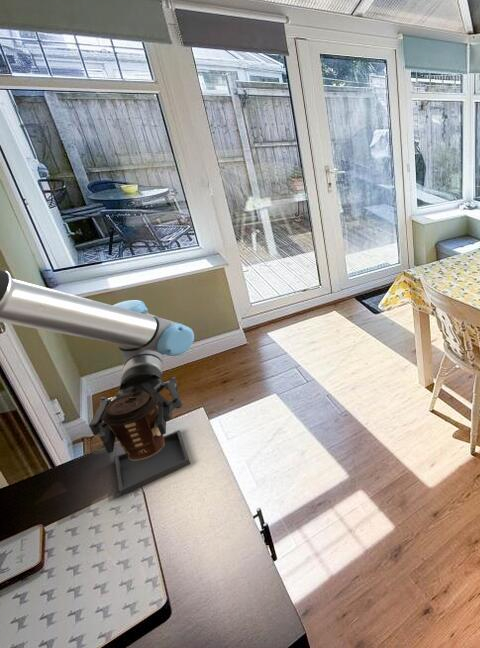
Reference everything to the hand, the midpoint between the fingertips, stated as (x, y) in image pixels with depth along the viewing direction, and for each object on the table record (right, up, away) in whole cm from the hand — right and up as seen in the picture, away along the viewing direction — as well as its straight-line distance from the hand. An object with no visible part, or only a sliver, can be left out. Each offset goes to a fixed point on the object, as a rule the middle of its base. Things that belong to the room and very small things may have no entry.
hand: (135, 438), depth 83 cm
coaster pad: (-3, -9, +8) cm, 13 cm away
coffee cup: (-3, -5, +6) cm, 9 cm away
